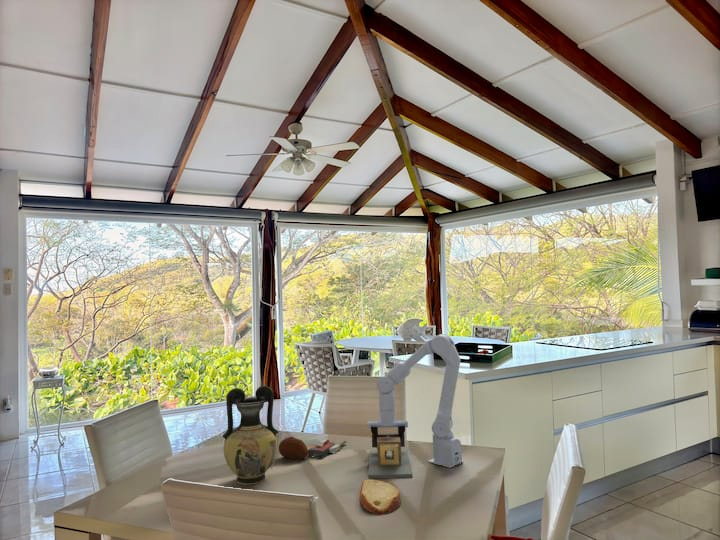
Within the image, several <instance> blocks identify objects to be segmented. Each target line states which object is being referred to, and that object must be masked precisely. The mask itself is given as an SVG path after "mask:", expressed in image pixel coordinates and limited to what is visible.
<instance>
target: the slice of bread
mask: <svg viewBox="0 0 720 540" xmlns="http://www.w3.org/2000/svg"><path fill="white" fill-rule="evenodd" d="M359 503H360V504H361V506H362V507H363V508H364V509H365V510H366V511H368V512H369V513H370V514H373V515H377V516H382V515H388V514H391V513H393V511H394V510H396V509H397V508H399V507H400V505H401V503H402V500H401V492H400V490H399V489H398V488H397V487H394V486H393V485H392V484H391V483H388V482H385V481H383V480H375V479H371V478H368V479H364V480H363V481H362V484H361V488H360V495H359Z"/></svg>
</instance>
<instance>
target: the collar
mask: <svg viewBox="0 0 720 540" xmlns="http://www.w3.org/2000/svg"><path fill="white" fill-rule="evenodd" d="M388 450H394V458H391V459H388V458H385V451H388ZM380 458H381V465H384V464H399V456H398V444H392V445H380Z"/></svg>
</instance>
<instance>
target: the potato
mask: <svg viewBox="0 0 720 540" xmlns="http://www.w3.org/2000/svg"><path fill="white" fill-rule="evenodd" d="M308 450H309V449H308V447H307V445H306V444H305V442H304V441H303V440H302V439H299V438H296V437H295V436H288V437H285V438H284V439H282V440H281V441H280V443H279V445H278V453H279V454H280V456H282V457H283V458H286V459H289V460H296V459H300V460H304V459H306V458H307V457H308Z"/></svg>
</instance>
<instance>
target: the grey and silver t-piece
mask: <svg viewBox="0 0 720 540" xmlns="http://www.w3.org/2000/svg"><path fill="white" fill-rule="evenodd" d="M378 437H398V432H395V433H378ZM405 442H406V441H405V433H404V434H403V437H402V440H401V448H404V447H405V446H406V445H405ZM371 445H372V446H371V447H372V448H373V449H374V448H376V449H377V445H376V442H375V439H374V436H373V434H372V433H371ZM386 456H387V458H388V459H391V458H392V456H393V455H392V450H388V451H386Z"/></svg>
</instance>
